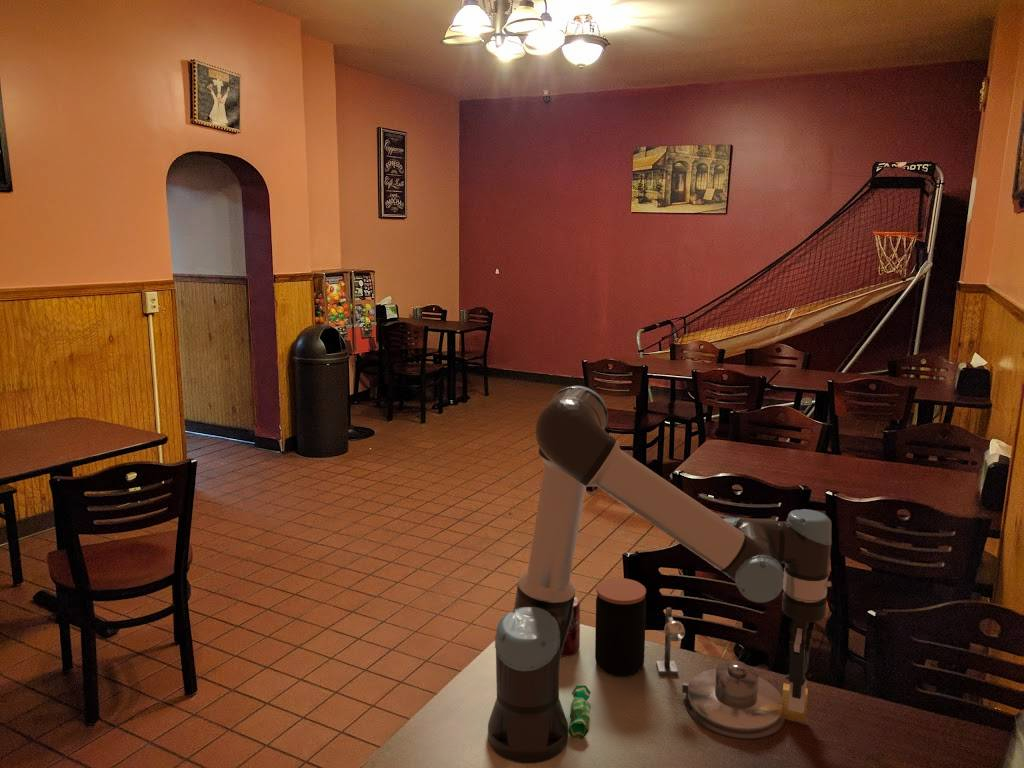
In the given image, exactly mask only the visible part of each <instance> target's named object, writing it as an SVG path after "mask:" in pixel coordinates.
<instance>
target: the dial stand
mask: <svg viewBox="0 0 1024 768" xmlns="http://www.w3.org/2000/svg"><path fill="white" fill-rule="evenodd" d="M672 612H673V609H672V607H670V606H668V607H667V606H666V608H665V625H664V627H663V628H664V629H663V630H664V634H665V635H664V636H665V637H664V655H663V656H664V659H663V660H655V666H656V669H657V673H658V676H675V677H676V676H679V670H678V667H677V664H676V661H675V660H671V648H672V647H671V645H672V644H671V643H672V642H678V641H679V642H680V641H681V640H683V639H684V637H685V635H686V629H685V627H684V624H682V622H681V621H679V620H674V618H673V613H672Z"/></svg>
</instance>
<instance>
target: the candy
mask: <svg viewBox="0 0 1024 768" xmlns="http://www.w3.org/2000/svg"><path fill="white" fill-rule="evenodd" d="M571 694H572V696H573V700H572V701H571V704H570V710H569V717H570V719H571V720H572V722H571V723H570V725H569V726H568V734H569V735H570V736H571V738H574V737H577V736H578V738H579V739H581V740H583V739H585V737H586V736H587V734H588V733H589V728H588V727H587V723H588V721H589V718H590V704H589V703H588V699H590V696H591V691H590V690H589V688H588V686H587V685H586V684H585V685H576V686H575V687H574V689H573V690H572V692H571Z"/></svg>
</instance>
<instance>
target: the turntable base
mask: <svg viewBox="0 0 1024 768" xmlns="http://www.w3.org/2000/svg"><path fill="white" fill-rule="evenodd" d="M684 704H685V709H686V711H687V713H688V714H689V716H690V717H691V718H692V719H693V720H694V721H695V722H696V723H697V724H698V725H700V726H701V727H702V728H704V729H706V730H708V731H709V732H711V733H714V734H716V735H719V736H720V737H721V736H723V737H725V738H728V739H729V738H730V739H734V740H741V741H742V740H744V741H753V740H761V739H765V738H768V737H772V736H773V735H775V734H777V733H779V732H780V730H781V729H782V728H783V726H784V724H785V719H786V718H781V720H780V722H779V723H778V724H777V725H776V726H775V727H773V728H771V729H769V730H767V731H763V732H759V733H736V732H731V731H727V730H723V729H720V728H717V727H715V726H713V725H711V724H709V723H707V722H705V721H704V720H703V719H701V718H700V717H699V716H698V715H696V714H695V712H694V711H693V710H692V708H691V707H690V705H689V702H688V694H686V693H685V697H684Z"/></svg>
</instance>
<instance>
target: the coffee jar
mask: <svg viewBox="0 0 1024 768" xmlns="http://www.w3.org/2000/svg"><path fill="white" fill-rule="evenodd" d="M596 585H597V586H596V593H597V596H596V598H595V638H594V639H595V641H594V643H595V647H594V653H595V654H594V655H595V656H594V659H595V662H596V665H598V668H599V669H600V670H601V671H602V672H603V673H606V674H607V675H609V676H611V677H612V676H613V677H618V678H627V677H631V676H634V675H637V673H639V672H640V670H641V669H642V668H643V666H644V664H645V652H646V651H645V647H646V645H645V643H646V642H645V641H646V615H647V614H646V611H647V609H646V607H647V600H646V594H647V588H646V587H645V585H643V584H642V583H640V582H639V581H636V580H635V579H634V580H633V579H630V578H626V577H625V578H624V577H614V578H613V577H611V578H608V579H607V578H606V579H604V580H602V581H600V582H599V583H597V584H596Z"/></svg>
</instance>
